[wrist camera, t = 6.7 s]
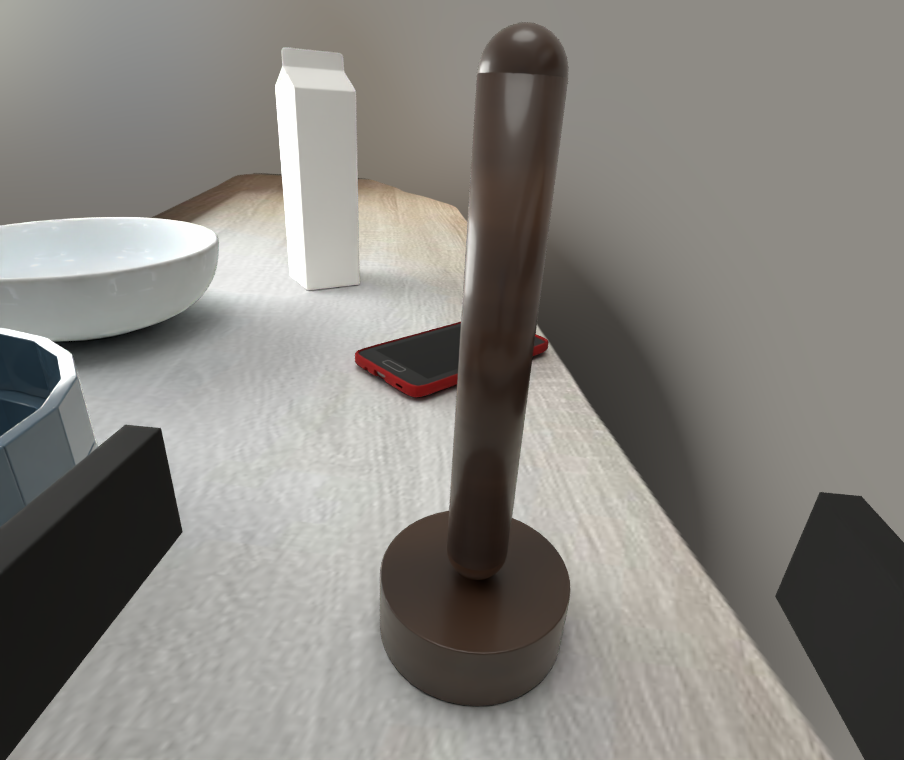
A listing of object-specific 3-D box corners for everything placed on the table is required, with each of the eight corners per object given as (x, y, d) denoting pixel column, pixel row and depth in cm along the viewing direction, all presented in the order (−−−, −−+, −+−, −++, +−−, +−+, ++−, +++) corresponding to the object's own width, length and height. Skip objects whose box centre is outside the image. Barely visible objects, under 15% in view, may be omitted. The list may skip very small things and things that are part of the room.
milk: (289, 276, 62) (270, 48, 52) (340, 271, 65) (331, 54, 55) (307, 291, 58) (290, 44, 48) (361, 285, 61) (355, 51, 51)
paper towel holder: (595, 678, 20) (761, 20, 11) (402, 730, 18) (418, -24, 9) (517, 543, 26) (584, 46, 17) (366, 571, 24) (355, 24, 15)
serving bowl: (48, 281, 56) (29, 211, 53) (257, 291, 57) (250, 222, 54) (-150, 368, 37) (-197, 267, 34) (165, 381, 38) (146, 283, 35)
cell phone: (350, 363, 42) (349, 351, 42) (485, 324, 51) (486, 314, 51) (414, 402, 37) (415, 389, 37) (552, 351, 46) (553, 340, 46)
